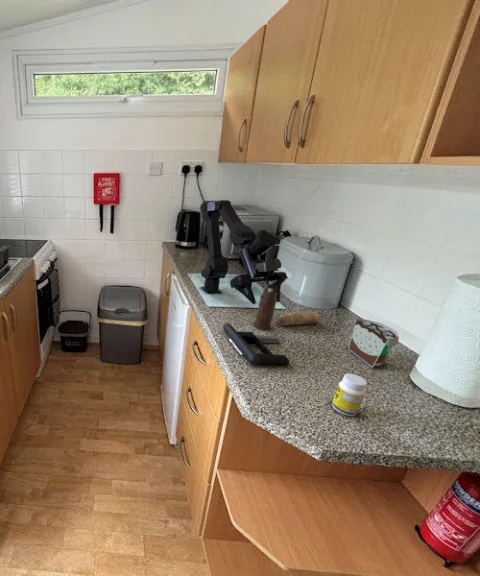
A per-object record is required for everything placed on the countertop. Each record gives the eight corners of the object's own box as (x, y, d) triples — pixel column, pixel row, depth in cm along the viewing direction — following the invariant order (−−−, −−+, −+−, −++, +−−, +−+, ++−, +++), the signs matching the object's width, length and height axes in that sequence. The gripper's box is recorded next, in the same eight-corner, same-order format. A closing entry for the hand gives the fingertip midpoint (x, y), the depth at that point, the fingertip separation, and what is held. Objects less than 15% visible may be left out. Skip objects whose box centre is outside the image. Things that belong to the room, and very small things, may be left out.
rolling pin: (282, 328, 107) (285, 317, 106) (274, 322, 111) (277, 312, 109) (320, 324, 110) (323, 314, 108) (311, 319, 113) (314, 309, 112)
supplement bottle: (334, 398, 75) (345, 369, 72) (358, 409, 72) (371, 379, 69) (329, 408, 72) (340, 378, 69) (354, 420, 69) (367, 389, 66)
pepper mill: (251, 324, 109) (259, 286, 104) (260, 321, 111) (269, 284, 106) (263, 331, 105) (272, 292, 100) (272, 328, 107) (282, 289, 102)
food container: (399, 371, 85) (414, 340, 82) (376, 371, 85) (390, 339, 82) (364, 346, 97) (376, 318, 93) (344, 346, 97) (355, 317, 93)
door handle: (267, 324, 104) (220, 322, 103) (306, 360, 86) (249, 357, 85) (264, 333, 105) (217, 331, 104) (302, 370, 87) (246, 367, 86)
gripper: (241, 251, 102) (257, 296, 96) (290, 249, 105) (308, 292, 100) (223, 266, 112) (236, 308, 106) (268, 264, 115) (284, 303, 110)
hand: (266, 302), depth 105 cm, fingers open, 9 cm apart
